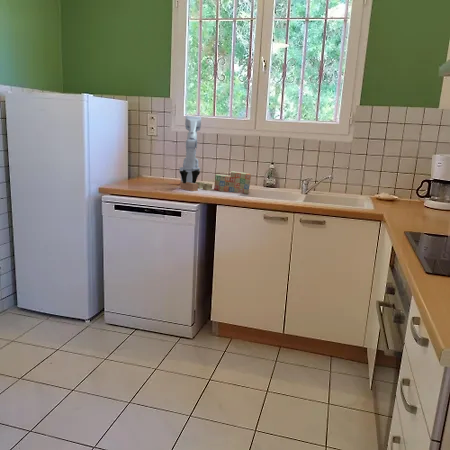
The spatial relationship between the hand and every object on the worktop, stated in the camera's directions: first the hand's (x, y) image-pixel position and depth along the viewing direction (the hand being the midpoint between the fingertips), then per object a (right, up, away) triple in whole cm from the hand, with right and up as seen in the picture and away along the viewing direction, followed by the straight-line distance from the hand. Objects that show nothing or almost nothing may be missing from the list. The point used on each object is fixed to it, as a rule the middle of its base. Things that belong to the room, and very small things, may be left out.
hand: (189, 183), depth 257 cm
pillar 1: (+6, -2, +12) cm, 13 cm away
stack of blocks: (+25, -5, +8) cm, 27 cm away
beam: (0, -4, +1) cm, 4 cm away
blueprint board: (+5, -4, +7) cm, 9 cm away
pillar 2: (+11, -3, +7) cm, 13 cm away
